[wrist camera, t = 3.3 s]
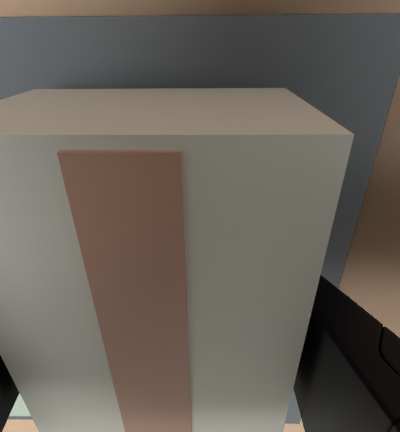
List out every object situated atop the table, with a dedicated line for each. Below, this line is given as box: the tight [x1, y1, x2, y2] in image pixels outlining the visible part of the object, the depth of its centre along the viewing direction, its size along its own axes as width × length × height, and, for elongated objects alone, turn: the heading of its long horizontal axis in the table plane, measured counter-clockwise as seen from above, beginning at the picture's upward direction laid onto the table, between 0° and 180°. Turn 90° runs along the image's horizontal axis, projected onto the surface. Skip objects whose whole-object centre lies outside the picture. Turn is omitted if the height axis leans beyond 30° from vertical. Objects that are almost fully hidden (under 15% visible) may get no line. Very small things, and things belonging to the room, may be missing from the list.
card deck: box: [0, 88, 354, 432], centre depth 8 cm, size 6×9×4 cm, turn 0°
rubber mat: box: [0, 14, 400, 424], centre depth 12 cm, size 22×18×1 cm
